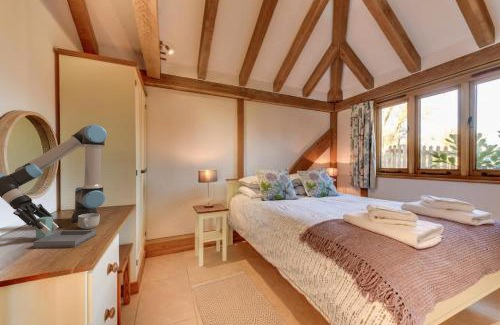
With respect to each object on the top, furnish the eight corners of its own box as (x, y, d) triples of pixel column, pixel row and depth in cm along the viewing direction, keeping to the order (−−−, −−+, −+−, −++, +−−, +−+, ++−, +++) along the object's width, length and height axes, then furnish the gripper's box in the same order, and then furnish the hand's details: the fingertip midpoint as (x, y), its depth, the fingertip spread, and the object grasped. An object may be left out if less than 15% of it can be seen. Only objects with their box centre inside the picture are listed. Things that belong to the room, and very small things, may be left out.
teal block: (43, 235, 110) (43, 216, 110) (52, 235, 110) (53, 216, 110) (35, 238, 105) (35, 219, 105) (45, 238, 106) (45, 219, 106)
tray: (60, 235, 112) (61, 230, 112) (96, 235, 114) (96, 229, 114) (33, 247, 97) (33, 241, 97) (74, 247, 99) (75, 241, 98)
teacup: (84, 225, 131) (84, 212, 131) (103, 224, 133) (103, 212, 133) (69, 233, 117) (70, 219, 117) (91, 232, 119) (91, 218, 119)
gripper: (28, 201, 115) (60, 230, 117) (-8, 208, 97) (30, 242, 99) (39, 191, 115) (70, 220, 117) (5, 197, 98) (43, 231, 100)
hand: (52, 230), depth 108 cm, fingers closed on teal block, 4 cm apart
